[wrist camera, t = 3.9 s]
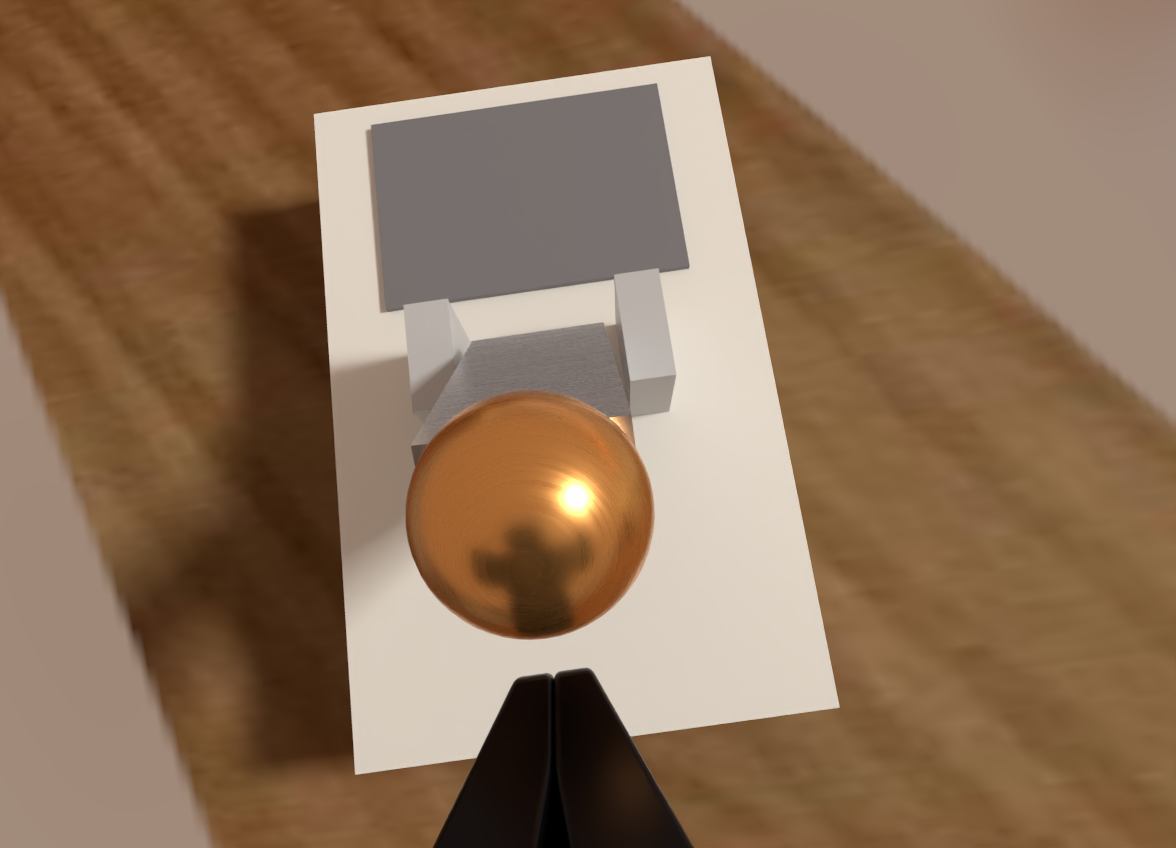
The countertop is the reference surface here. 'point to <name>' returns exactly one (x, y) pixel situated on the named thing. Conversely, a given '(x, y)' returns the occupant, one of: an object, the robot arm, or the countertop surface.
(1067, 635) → the countertop surface
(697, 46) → the countertop surface
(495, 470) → the switch lever
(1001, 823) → the countertop surface
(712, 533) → the switch box
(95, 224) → the countertop surface
